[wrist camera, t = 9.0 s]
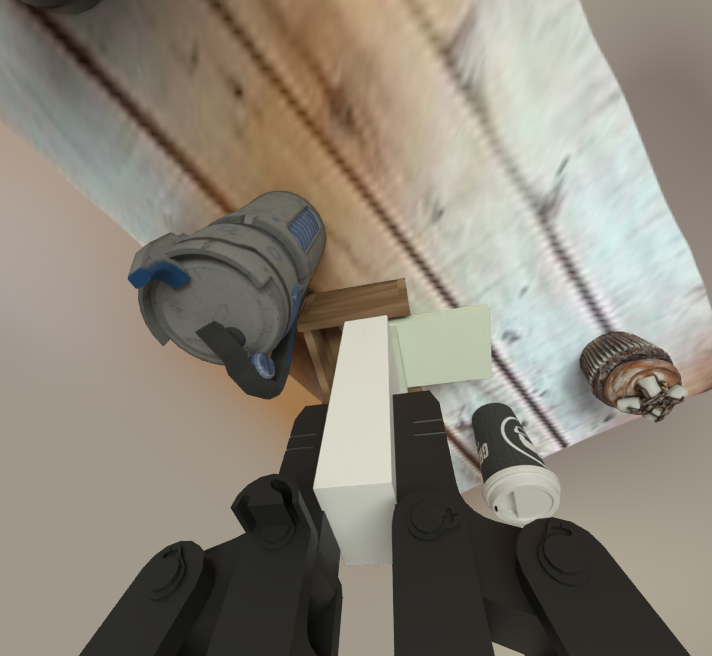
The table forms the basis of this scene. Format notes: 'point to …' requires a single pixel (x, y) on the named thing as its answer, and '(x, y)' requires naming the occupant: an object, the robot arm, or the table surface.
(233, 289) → the beverage bottle
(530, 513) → the coffee cup
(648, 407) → the cupcake
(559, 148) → the table surface
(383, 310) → the box
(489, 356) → the lid
